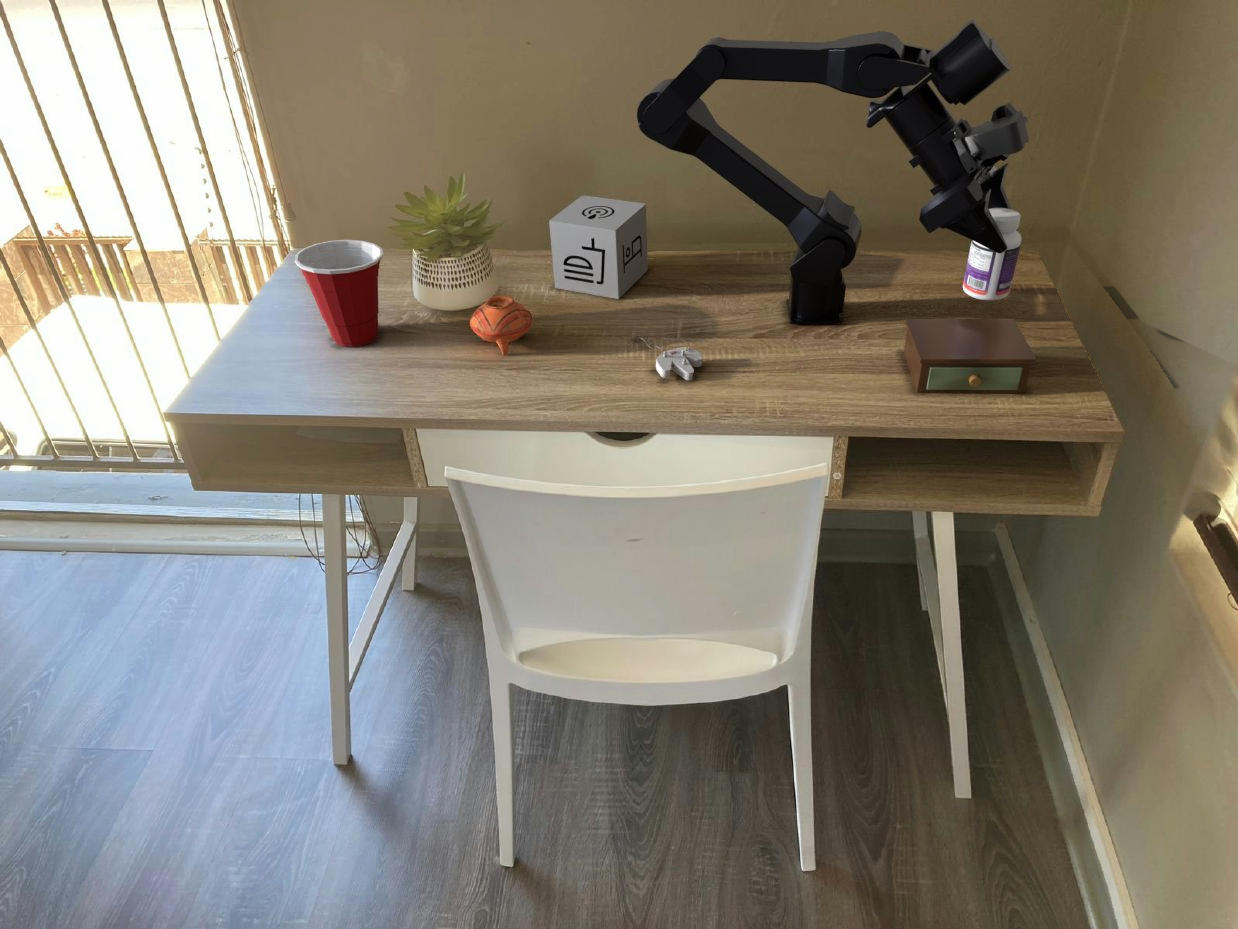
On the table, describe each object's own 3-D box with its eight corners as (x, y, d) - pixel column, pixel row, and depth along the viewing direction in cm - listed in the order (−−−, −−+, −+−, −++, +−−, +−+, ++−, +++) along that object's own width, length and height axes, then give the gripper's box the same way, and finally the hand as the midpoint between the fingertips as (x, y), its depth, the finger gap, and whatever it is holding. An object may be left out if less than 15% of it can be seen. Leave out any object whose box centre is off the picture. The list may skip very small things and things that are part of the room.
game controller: (681, 388, 111) (681, 368, 110) (608, 359, 118) (607, 340, 116) (710, 368, 115) (710, 349, 113) (638, 340, 121) (637, 322, 119)
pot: (461, 355, 119) (457, 302, 116) (487, 340, 126) (484, 289, 123) (519, 361, 117) (517, 307, 114) (543, 344, 124) (541, 293, 121)
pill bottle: (1002, 281, 116) (1020, 204, 110) (1014, 301, 111) (1033, 223, 105) (957, 281, 116) (973, 204, 110) (967, 301, 112) (983, 222, 106)
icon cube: (618, 298, 131) (615, 230, 125) (555, 287, 134) (549, 220, 128) (647, 269, 138) (646, 203, 132) (586, 260, 141) (582, 195, 136)
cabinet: (915, 397, 108) (921, 362, 105) (900, 352, 116) (905, 318, 113) (1029, 397, 107) (1038, 362, 104) (1006, 352, 115) (1013, 318, 112)
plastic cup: (415, 333, 125) (399, 248, 118) (346, 365, 119) (325, 278, 112) (368, 309, 131) (350, 227, 124) (300, 339, 125) (277, 254, 118)
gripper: (970, 109, 95) (1059, 233, 97) (1010, 65, 108) (1088, 175, 110) (882, 174, 103) (966, 287, 105) (929, 126, 116) (1003, 227, 118)
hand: (1009, 242), depth 109 cm, fingers closed on pill bottle, 5 cm apart
